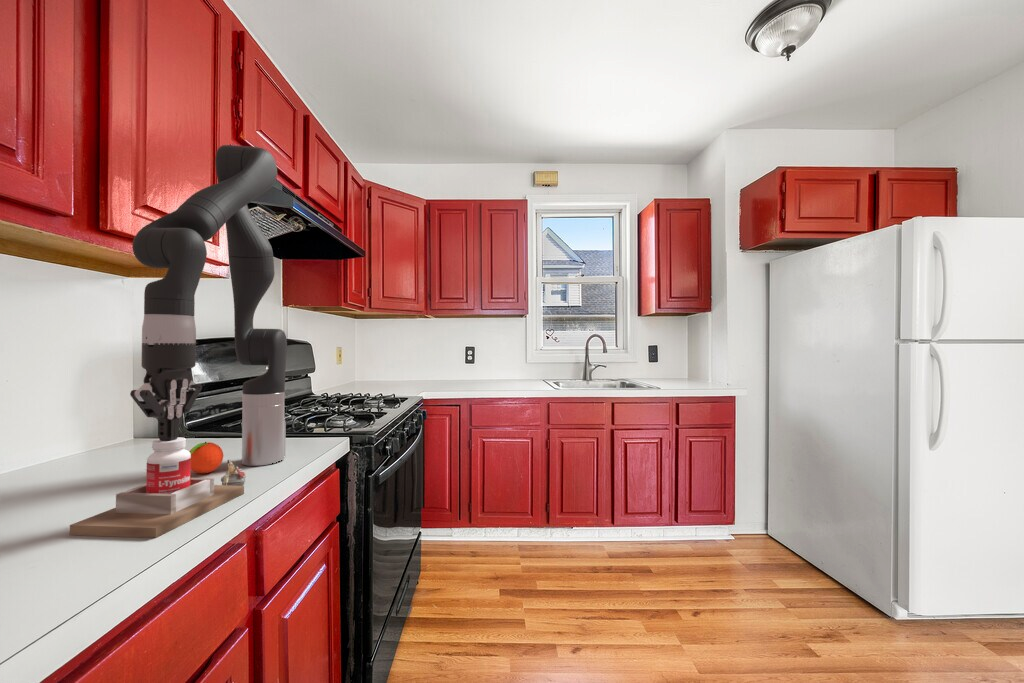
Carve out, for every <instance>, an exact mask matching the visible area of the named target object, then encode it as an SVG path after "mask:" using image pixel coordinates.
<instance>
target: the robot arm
mask: <svg viewBox="0 0 1024 683" xmlns="http://www.w3.org/2000/svg"><path fill="white" fill-rule="evenodd" d="M214 158H215V159H214V160H215V162H214V163H215V164H214V166H215V173H216V178H217V182H216V183H214V184H212V185H208V186H206V187H204V188H202V189H200V190H198V191H197V192H195V193H193V194H191V195H190V197H188V198H187V199H186V200H185V201H184V202H182V203H181V205H179V207H177V209H175V210H174V211H172V212H170V213H167V214H165V215H163V216H161V217H159V218H157V219H155V220H153V221H151V222H150V223H148V224H146V225H144V226H143V227H142V228H141V229H140V230H139V231H138V232H136V234H135V235H134V238H133V240H132V245H131V246H132V252H133V255H134V257H135V258H136V260H137V261H138V263H141V264H142V265H144V266H145V267H149V268H153V269H167V272H166V273H165V275H164V277H162V278H161V279H157V280H154V281H150V282H148V283H147V284H146V286H145V288H144V292H143V293H144V294H143V301H144V303H143V314H144V315H143V322H142V325H141V368H142V369H144V370H145V371H146V373H145V374H144V378H143V384H142V385H141V386H140V388H138V389H132V390H131V391H130V393H129V394H130V397H131V398H132V400H134V402H135V404H137V406H138V407H139V409H140V410H141V411H142V412H143V414H144V415H145V416H146V417H147V418H154V419H156V420H157V437H158V439H160V441H171V440H175V439H177V438H178V437H179V434H180V418H181V417H182V415H184V414H187V413H189V412H190V410H191V408H192V407H193V405H194V403H195V402H196V400H197V398H198V397H199V395H200V393H201V391H202V389H203V384H201V383H196V382H194V381H193V374H192V372H191V369H192V368H194V367H196V365H197V364H196V363H197V362H196V361H197V357H196V356H197V355H196V354H197V353H196V350H197V348H196V345H197V342H196V341H197V339H196V338H197V328H196V321H195V294H196V292H197V288H198V286H199V282H200V279H201V276H202V274H203V270H204V268H205V266H206V261H207V246H206V243H205V242H207V241H210V239H212V238H213V237H214V236H215V235H216V234H218V232H219V231H220V230H221V228H222V227H223V226H224V225H225V230H226V238H227V239H226V240H227V255H228V265H229V273H230V279H231V287H232V296H233V310H234V315H233V317H234V318H233V319H234V348H235V349H234V351H235V354H236V355H235V356H236V358H237V361H238V362H239V364H240V365H242V366H268V368H267V371H266V372H264V374H262V375H260V376H257V377H255V378H251V379H248V380H246V381H244V382H243V383H242V395H241V396H242V399H241V400H242V401H241V402H242V403H241V406H242V410H241V411H242V415H241V416H242V419H241V422H242V424H241V433H242V434H241V464H242V465H244V466H249V467H251V466H254V467H255V466H266V465H273V464H277V463H279V462H278V461H280V462H282V461H283V459H285V457H286V441H287V440H286V439H287V438H286V436H287V435H286V431H287V428H286V427H287V424H286V423H287V422H286V420H285V396H286V395H285V394H286V393H285V392H286V391H285V390H286V389H285V386H286V370H287V352H288V351H287V350H288V341H287V340H288V339H287V335H286V333H285V331H284V330H282V329H280V328H254V315H255V313H256V310H257V308H258V305H259V304H260V302H261V301H262V298H263V297H264V296H265V294H266V293H267V291H268V290H269V289H270V287H271V285H272V283H273V282H274V278H275V262H274V252H273V248H272V245H271V243H270V241H269V239H268V238H267V236H266V235H265V234H264V232H263V230H262V229H261V228H260V227H259V225H258V224H257V222H256V221H255V219H254V217H253V216H252V213H251V212H250V209H249V206H248V204H250V203H251V202H253V201H254V200H256V199H257V198H259V197H260V196H261V195H263V194H264V193H266V192H268V191H269V190H271V189H272V187H273V186H274V185H275V184H276V182H277V178H278V167H277V166H278V165H277V162H276V160H275V158H274V156H273V155H272V153H271V152H270V151H268V150H267V149H265V148H262V147H257V146H247V145H236V144H235V145H234V144H224V145H223V144H222V145H220V146H219V147H218V148H217V150H216V152H215V157H214ZM284 456H285V457H284ZM281 460H282V461H281ZM276 462H277V463H276ZM272 463H273V464H272Z"/></svg>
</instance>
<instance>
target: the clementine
mask: <svg viewBox="0 0 1024 683" xmlns="http://www.w3.org/2000/svg"><path fill="white" fill-rule="evenodd" d="M188 451H189V452H190V454H191V472H193V473H196V474H200V475H202V474H209V473H212V472H213V471H215V470H217V469H218V468H219V467H220V466H221V464H222V463H223V460H224V451H223V449H222V448H221V447H220V445H219V444H217V443H214V442H208V441H204V442H201V443H198V444H196V445H195V446H193V447H192V448H191V449H190V450H188Z"/></svg>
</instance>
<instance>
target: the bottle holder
mask: <svg viewBox="0 0 1024 683" xmlns="http://www.w3.org/2000/svg"><path fill="white" fill-rule="evenodd" d="M244 494H245V485H243V486H229V485H222V484H215V477H214V478H213V477H211V478H209V477H191V478H190V486H189V487H186V488H184V489H181V490H179V491H176V492H174V493H171V494H158V493H146V483H145V484H142V485H139V486H135V487H133V488H131V489H130V488H129V489H127V490H125V491H122V492H119V493H116V494H115V507H114V508H110V509H108V510H105V511H102V512H101V513H98V514H96V515H93V516H90V517H87V518H84V519H82V520H79V521H77V522H74V523H71V524H70V525H69V536H90V537H91V536H94V537H116V538H118V537H120V538H123V537H124V538H146V539H148V538H151V539H157V538H158V537H161V536H162V535H165V534H166V533H168V532H171V531H172V530H174V529H176V528H179V527H180V526H182V525H185V524H187V523H188V522H190V521H193V520H195V519H196V518H198V517H201V516H202V515H204V514H206V513H208V512H210V511H212V510H215V509H216V508H218V507H220V506H222V505H224V504H226V503H228V502H230V501H232V500H234V499H236V498H238V497H240V496H242V495H244Z"/></svg>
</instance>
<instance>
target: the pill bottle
mask: <svg viewBox="0 0 1024 683" xmlns="http://www.w3.org/2000/svg"><path fill="white" fill-rule="evenodd" d="M186 440H187V439H186V438H185V437H179V436H178V438H177V439H175V440H171V441H160V439H159V438H158V439H155V440H153V441H152V443H151V444H152V445H151V446H152V447H151V449H152V451H153V452H152V453H151V454H150V455H148V456H147V458H146V475H145V476H146V478H145V480H146V482H145V484H146V493H158V494H171V493H174V492H176V491H179V490H181V489H184V488H186V487H189V486H190V478H192V477H191V475H192V474H191V472H192V470H191V454H190V452H189V451H190V450H187V449H185V447H186V446H187V441H186Z"/></svg>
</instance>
